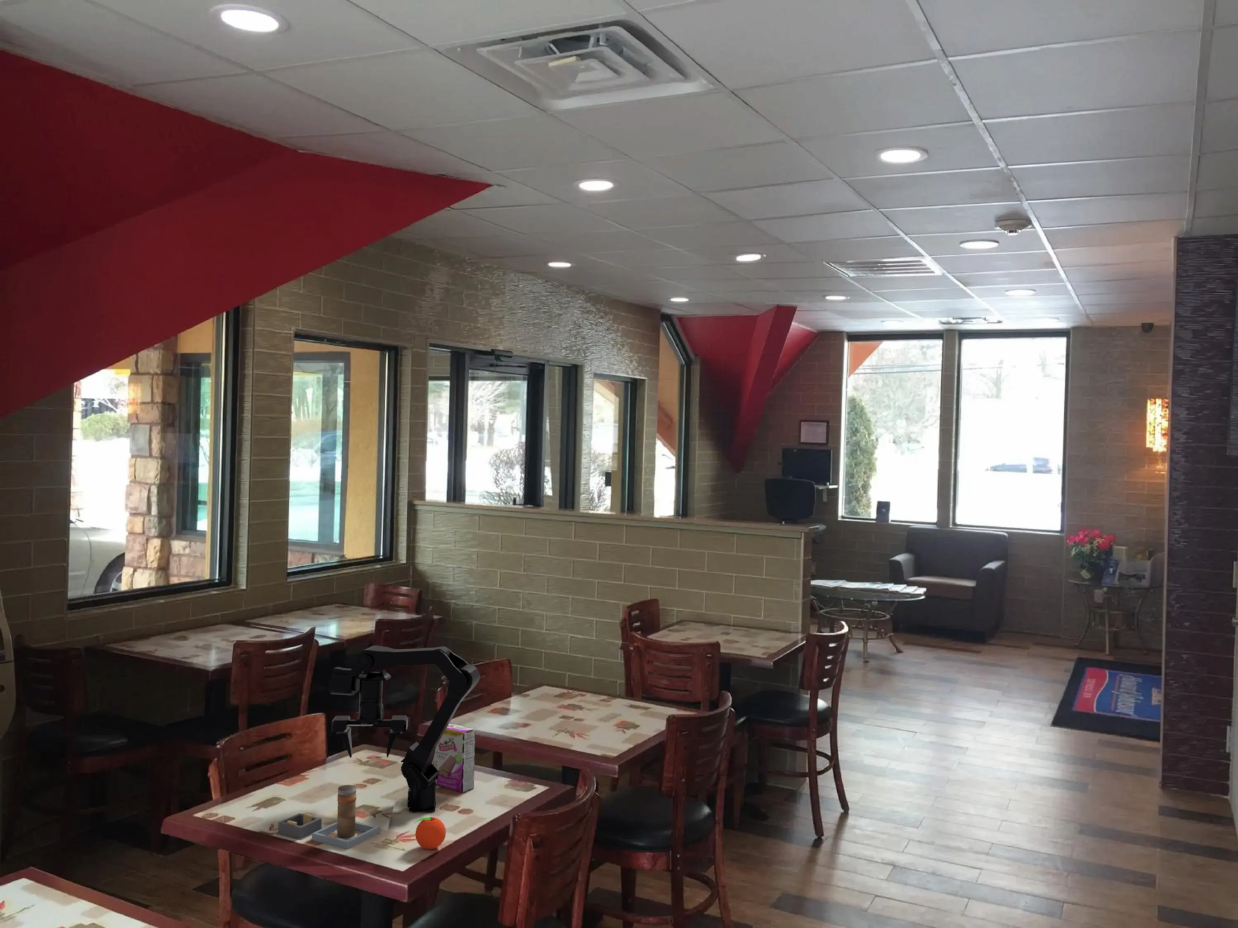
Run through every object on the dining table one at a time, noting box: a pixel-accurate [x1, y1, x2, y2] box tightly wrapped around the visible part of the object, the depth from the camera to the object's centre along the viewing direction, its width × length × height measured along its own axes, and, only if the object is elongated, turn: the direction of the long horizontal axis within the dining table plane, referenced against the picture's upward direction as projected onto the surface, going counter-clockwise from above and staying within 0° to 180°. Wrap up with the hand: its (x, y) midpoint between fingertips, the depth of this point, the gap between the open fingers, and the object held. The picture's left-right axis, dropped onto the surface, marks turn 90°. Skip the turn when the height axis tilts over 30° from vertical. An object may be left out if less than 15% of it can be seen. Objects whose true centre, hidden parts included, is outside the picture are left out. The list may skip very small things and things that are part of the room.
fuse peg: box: [336, 784, 357, 840], centre depth 233 cm, size 4×4×12 cm
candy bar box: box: [432, 722, 476, 793], centre depth 273 cm, size 11×5×16 cm, turn 58°
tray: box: [311, 820, 380, 850], centre depth 233 cm, size 11×11×3 cm
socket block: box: [274, 813, 323, 841], centre depth 235 cm, size 8×8×4 cm
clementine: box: [414, 816, 447, 850], centre depth 231 cm, size 8×7×7 cm
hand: (369, 756), depth 259 cm, fingers open, 9 cm apart
